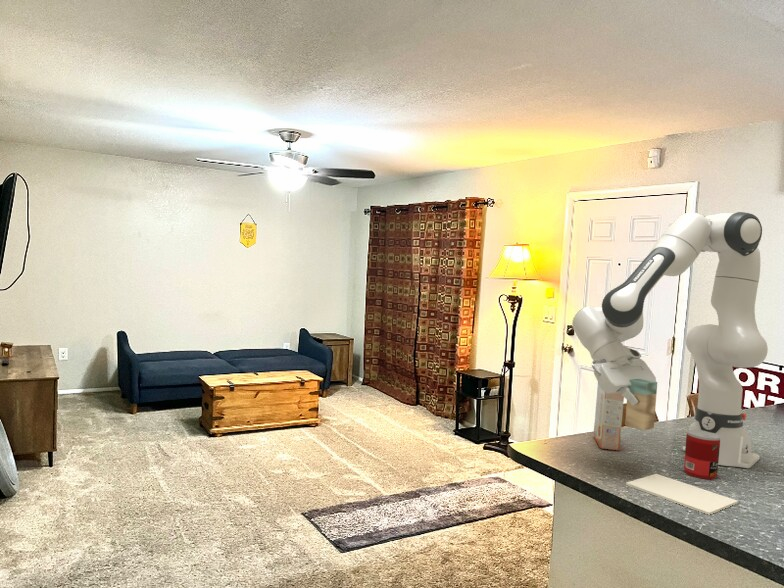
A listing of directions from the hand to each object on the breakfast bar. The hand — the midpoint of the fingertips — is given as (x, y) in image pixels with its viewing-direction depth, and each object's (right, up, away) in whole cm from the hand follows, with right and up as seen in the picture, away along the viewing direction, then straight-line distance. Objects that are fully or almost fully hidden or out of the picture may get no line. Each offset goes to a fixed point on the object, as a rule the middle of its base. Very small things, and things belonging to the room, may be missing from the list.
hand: (643, 403), depth 150 cm
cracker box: (+1, -18, +30) cm, 35 cm away
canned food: (+18, -20, +6) cm, 27 cm away
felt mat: (+4, -20, -10) cm, 23 cm away
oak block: (-1, -6, +1) cm, 6 cm away
